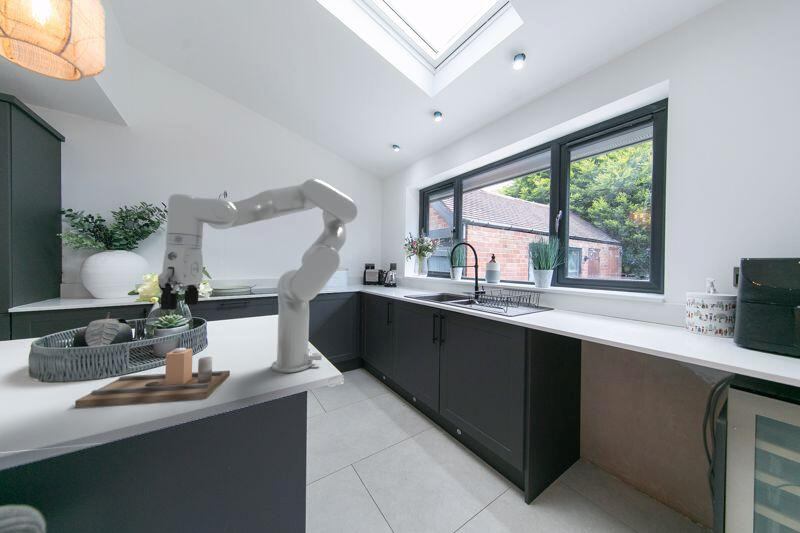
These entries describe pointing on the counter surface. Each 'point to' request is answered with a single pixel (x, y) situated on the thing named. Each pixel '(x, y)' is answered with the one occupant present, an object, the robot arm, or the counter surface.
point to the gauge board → (156, 388)
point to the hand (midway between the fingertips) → (180, 306)
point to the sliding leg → (178, 366)
